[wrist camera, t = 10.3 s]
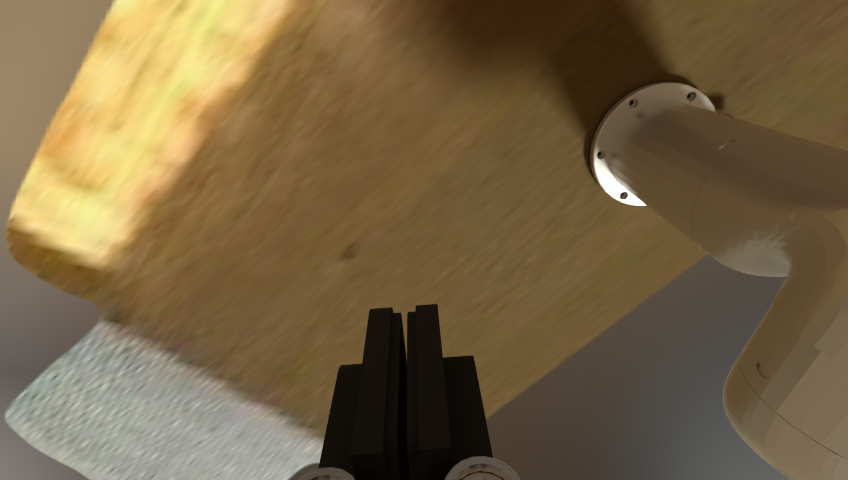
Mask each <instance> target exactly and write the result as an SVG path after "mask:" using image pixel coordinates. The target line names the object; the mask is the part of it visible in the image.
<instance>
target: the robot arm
mask: <svg viewBox="0 0 848 480" xmlns="http://www.w3.org/2000/svg"><path fill="white" fill-rule="evenodd" d="M687 95H688V96H687ZM631 100H632V102H631V104H629V103H630V101H631ZM598 152H600V154H599V155H597V154H598ZM590 163H591V169H592V173H593V176H594V178H595V180H596V182H597V183H598V185H599V186H600V187H601V188H602V189H603V191H604V192H605V193H607V194H608V195H609V196H610V197H612V198H613V199H615V200H617V201H619V202H621V203H624V204H628V205H633V206H648V207H649V208H651V209H652V210H653V211H654V212H656V213H657V214H658V215H660V216H661V217H662V218H663V219H665V220H666V221H667V222H668V223H670V224H671V225H672V226H674V227H675V228H676V229H677V230H679V231H680V232H681V233H682V234H684V235H685V236H686V237H688V238H689V239H690V240H691V241H693V242H694V243H695V244H697V245H698V246H699V247H700V248H702V249H703V250H704V251H705V252H707V253H708V254H710V255H711V256H712V257H714V258H715V259H716V260H717V261H719V262H721V263H722V264H724V265H726V266H728V267H730V268H732V269H734V270H737V271H740V272H744V273H748V274H753V275H759V276H760V275H761V276H787V278H786V280H785V282H784V284H783V285H782V287H781V289H780V290H779V292H778V294H777V295H776V297H775V299H774V302H773V304H772V305H771V307H770V308H769V310H768V312H767V313H766V315H765V316H764V318H763V319H762V321H761V322H760V324H759V325H758V327H757V329H756V330H755V332H754V333H753V335H752V337H751V338H750V340H749V341H748V343H747V344H746V346H745V347H744V349H743V350H742V352H741V354H740V356H739V358H738V359H737V361H736V362H735V364H734V365H733V367H732V369H731V371H730V373H729V375H728V377H727V380H726V382H725V386H724V391H723V403H724V407H725V411H726V414H727V416H728V418H729V420H730V422H731V423H732V425H733V427H734V428H735V430H736V431H737V432H738V433H739V435H740V436H741V437H742V439H743V440H744V441H745V442H746V443H747V444H748V445H749V446H750V447H751V448H752V449H753V450H754V451H755V452H756V453H757V454H758V455H760V456H761V457H762V458H763V459H765V461H767V462H768V463H769V464H770V465H772V466H773V467H774V468H776V469H777V470H778V471H780V472H781V473H782V474H784V475H785V476H786V477H788V478H789V479H791V480H848V151H845V150H841V149H838V148H834V147H830V146H827V145H823V144H820V143H817V142H813V141H810V140H807V139H803V138H799V137H796V136H792V135H789V134H786V133H782V132H779V131H776V130H772V129H769V128H766V127H763V126H759V125H756V124H753V123H749V122H746V121H743V120H739V119H736V118H733V117H729V116H726V115H723V114H719V113H717V112H716V109H715V107H714V105H713V104H712V102H711V101H710V99H709V98H708V97H707V96H706V95H705V94H703V93H702V92H701V91H700V90H698V89H696V88H694V87H692V86H689V85H686V84H682V83H677V82H659V83H652V84H649V85H646V86H643V87H640V88H638V89H636V90H634V91H632V92H630V93H629V94H627V95H626V96H625V97H623V98H622V99H620V100H619V101H618V102H617V103H616V104H615V105H614V106H613V107H612V108H611V109H610V110H609V111H608V112H607V114H606V115H605V116H604V118H603V119H602V121H601V122H600V124H599V126H598V128H597V130H596V132H595V134H594V137H593V141H592V144H591V151H590ZM621 193H622V194H621ZM298 480H520V478H519V476H518V475H517V473H516V472H515V471H514V470H513V469H511V468H510V467H509V466H508V465H507V464H505V463H503V462H501V461H500V460H498V459H495V458H493V456H492V450H491V445H490V440H489V434H488V429H487V424H486V419H485V414H484V408H483V403H482V398H481V393H480V387H479V382H478V377H477V372H476V367H475V362H474V357H473V356H460V357H446V358H443V356H442V346H441V336H440V326H439V316H438V306H437V304H432V305H418V306H416V312H408V315H407V359H406V350H405V341H404V333H403V324H402V316H401V313H393V309H392V308H378V309H370V311H369V318H368V325H367V333H366V340H365V347H364V355H363V362H362V364H352V365H341V366H340V368H339V371H338V375H337V380H336V385H335V389H334V394H333V399H332V404H331V409H330V414H329V419H328V424H327V429H326V434H325V439H324V444H323V449H322V454H321V459H320V464H319V469H317V470H314V471H311V472H308V473H307V474H306V475H304V476H302V477H301V478H299V479H298Z"/></svg>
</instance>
